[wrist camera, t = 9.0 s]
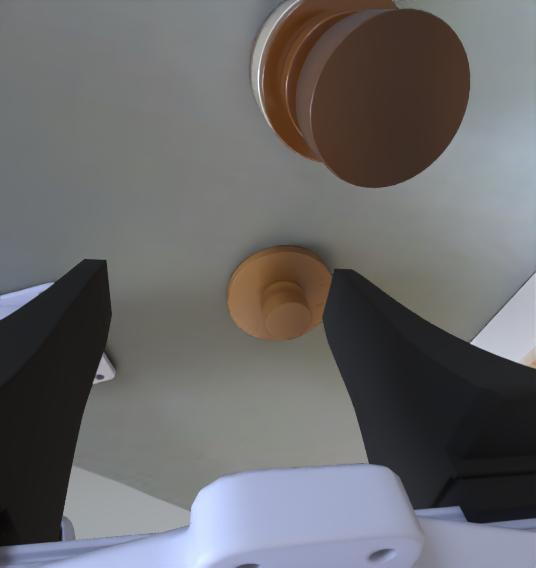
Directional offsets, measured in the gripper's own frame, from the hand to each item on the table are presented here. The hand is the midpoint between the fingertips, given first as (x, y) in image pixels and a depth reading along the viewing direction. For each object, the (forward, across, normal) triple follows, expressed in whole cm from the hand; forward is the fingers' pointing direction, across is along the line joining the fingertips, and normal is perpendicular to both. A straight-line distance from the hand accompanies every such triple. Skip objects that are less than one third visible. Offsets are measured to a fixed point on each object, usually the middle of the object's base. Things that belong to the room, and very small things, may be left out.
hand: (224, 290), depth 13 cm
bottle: (+10, -4, -6) cm, 12 cm away
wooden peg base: (+10, -5, +7) cm, 13 cm away
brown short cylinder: (+3, -4, -6) cm, 8 cm away
